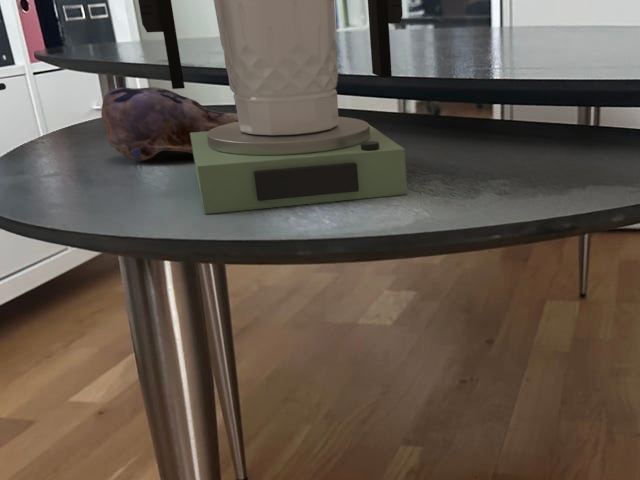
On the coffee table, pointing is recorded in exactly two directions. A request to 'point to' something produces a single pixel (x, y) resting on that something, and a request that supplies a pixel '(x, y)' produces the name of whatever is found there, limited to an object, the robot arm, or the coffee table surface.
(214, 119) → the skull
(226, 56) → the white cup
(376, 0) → the robot arm
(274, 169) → the scale
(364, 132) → the scale pan
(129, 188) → the coffee table surface
